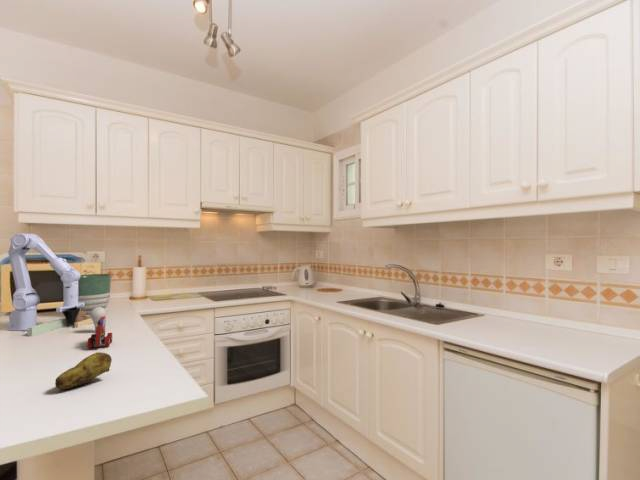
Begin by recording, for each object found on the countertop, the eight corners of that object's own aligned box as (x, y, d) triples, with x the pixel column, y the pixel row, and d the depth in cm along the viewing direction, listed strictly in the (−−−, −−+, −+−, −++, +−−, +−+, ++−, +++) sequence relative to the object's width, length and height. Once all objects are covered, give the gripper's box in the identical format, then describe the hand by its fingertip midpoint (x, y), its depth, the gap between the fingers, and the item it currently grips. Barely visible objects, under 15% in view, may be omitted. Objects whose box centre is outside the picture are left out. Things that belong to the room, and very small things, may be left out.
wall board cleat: (27, 336, 145) (27, 327, 145) (74, 322, 171) (74, 315, 171) (50, 336, 145) (50, 328, 145) (94, 322, 170) (94, 315, 170)
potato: (57, 384, 96) (57, 355, 96) (111, 374, 103) (111, 347, 103) (54, 395, 89) (54, 364, 89) (111, 384, 96) (111, 355, 96)
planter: (84, 319, 176) (84, 278, 176) (60, 316, 183) (60, 276, 183) (119, 312, 194) (119, 274, 194) (95, 309, 201) (95, 273, 201)
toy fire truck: (85, 351, 124) (85, 323, 124) (93, 342, 136) (93, 316, 136) (108, 349, 127) (108, 321, 127) (113, 340, 139) (113, 314, 139)
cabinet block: (66, 323, 162) (69, 307, 165) (73, 323, 167) (76, 308, 169) (76, 323, 163) (79, 307, 165) (83, 323, 167) (86, 308, 169)
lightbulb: (98, 334, 148) (98, 308, 148) (86, 333, 149) (86, 308, 149) (109, 330, 154) (109, 306, 154) (98, 330, 155) (98, 305, 155)
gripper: (66, 298, 154) (66, 328, 154) (90, 293, 169) (90, 320, 169) (51, 298, 155) (51, 328, 155) (76, 293, 169) (76, 320, 169)
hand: (70, 324), depth 162 cm, fingers closed
